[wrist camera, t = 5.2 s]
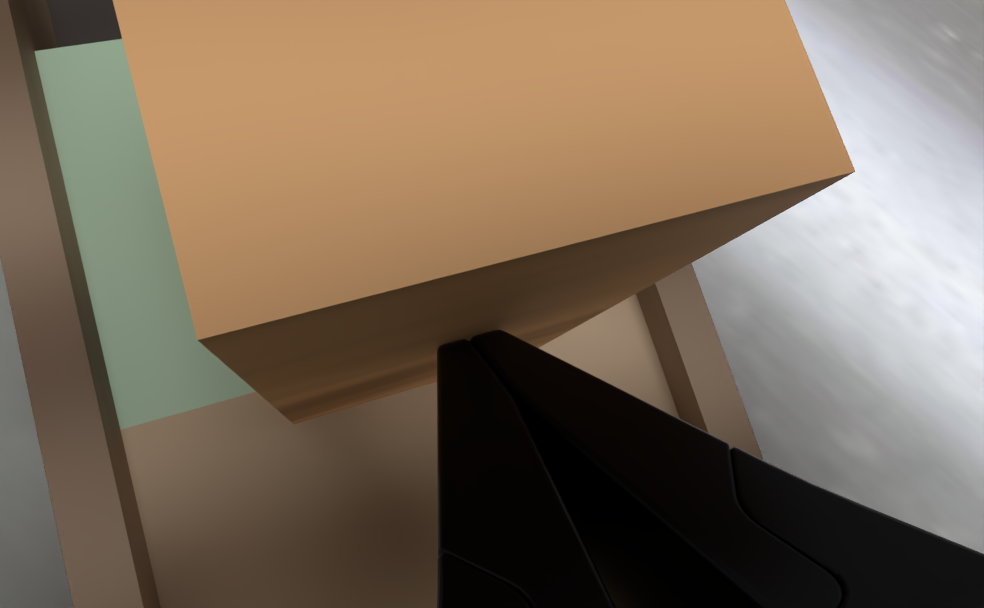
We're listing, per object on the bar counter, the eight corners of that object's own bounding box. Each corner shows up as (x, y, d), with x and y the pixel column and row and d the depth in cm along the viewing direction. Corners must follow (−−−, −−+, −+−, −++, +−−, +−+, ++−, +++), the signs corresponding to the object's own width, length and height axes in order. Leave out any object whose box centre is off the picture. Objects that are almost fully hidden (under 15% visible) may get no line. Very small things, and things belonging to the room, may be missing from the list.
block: (525, 354, 15) (854, 171, 5) (293, 424, 14) (196, 339, 4) (445, 105, 16) (610, -425, 6) (220, 148, 15) (2, -445, 5)
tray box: (820, 851, 17) (989, 988, 12) (266, 1172, 13) (232, 1520, 9) (453, -199, 21) (484, -369, 17) (-33, -169, 17) (-152, -374, 13)
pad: (601, 304, 18) (633, 285, 16) (147, 434, 15) (119, 429, 13) (507, 29, 19) (526, -18, 17) (70, 99, 16) (33, 51, 14)
